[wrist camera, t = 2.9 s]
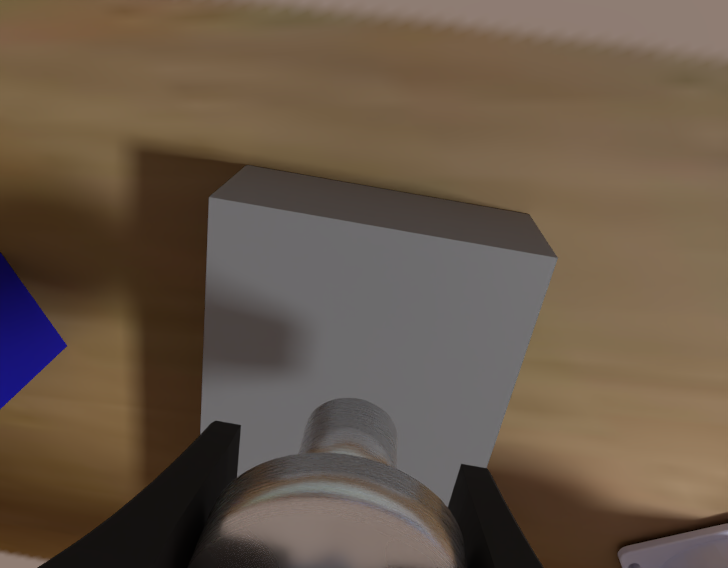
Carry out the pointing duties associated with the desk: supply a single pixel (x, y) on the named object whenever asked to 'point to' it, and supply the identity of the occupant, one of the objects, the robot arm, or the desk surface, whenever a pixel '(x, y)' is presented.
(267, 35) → the desk surface
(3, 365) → the cable clip
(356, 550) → the headed pin
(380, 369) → the grey flat block
